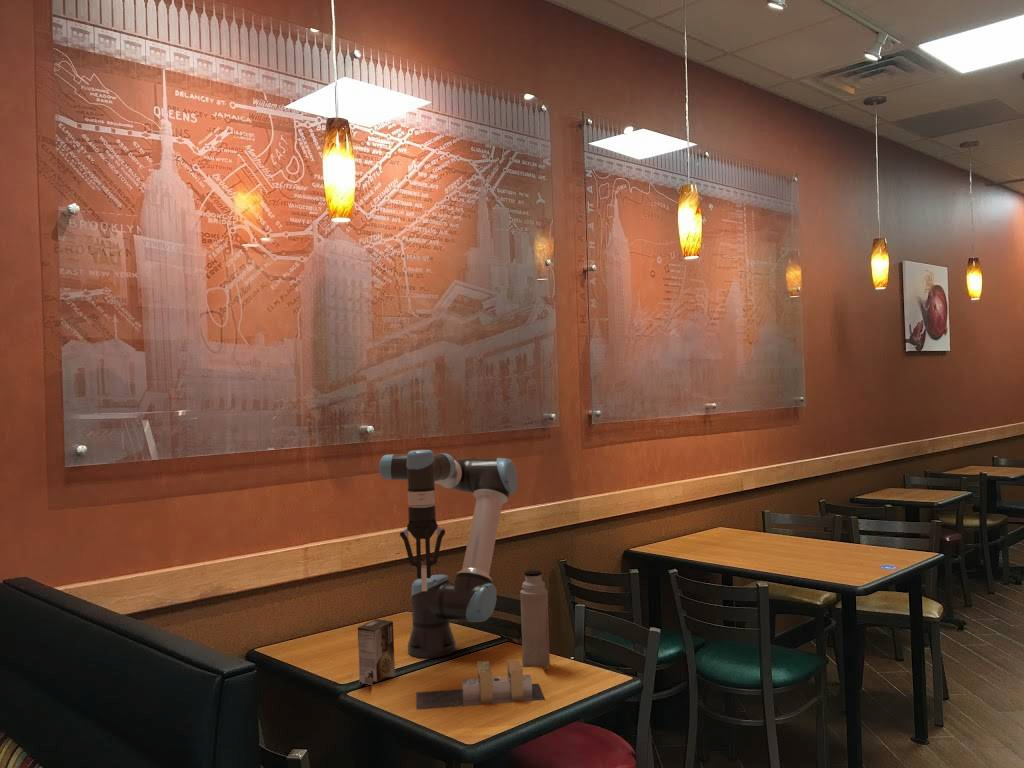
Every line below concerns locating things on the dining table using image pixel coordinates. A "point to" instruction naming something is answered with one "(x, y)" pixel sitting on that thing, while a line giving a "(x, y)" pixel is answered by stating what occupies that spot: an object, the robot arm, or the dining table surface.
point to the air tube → (494, 687)
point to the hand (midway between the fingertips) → (424, 589)
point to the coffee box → (376, 651)
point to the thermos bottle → (534, 621)
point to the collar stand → (481, 690)
